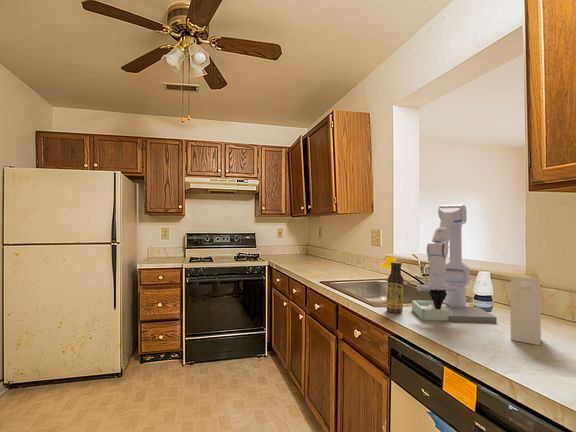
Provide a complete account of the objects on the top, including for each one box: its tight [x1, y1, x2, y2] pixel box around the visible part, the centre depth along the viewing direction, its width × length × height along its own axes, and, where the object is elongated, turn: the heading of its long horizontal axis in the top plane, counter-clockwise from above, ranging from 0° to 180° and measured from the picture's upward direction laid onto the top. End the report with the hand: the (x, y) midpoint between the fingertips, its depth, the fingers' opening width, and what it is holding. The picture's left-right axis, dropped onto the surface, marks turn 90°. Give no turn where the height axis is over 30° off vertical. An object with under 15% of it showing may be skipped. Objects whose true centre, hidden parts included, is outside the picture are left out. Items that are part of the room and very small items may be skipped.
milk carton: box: [509, 275, 542, 346], centre depth 101 cm, size 7×7×19 cm
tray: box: [411, 300, 450, 322], centre depth 127 cm, size 14×9×4 cm, turn 174°
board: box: [441, 305, 497, 324], centre depth 125 cm, size 14×16×2 cm
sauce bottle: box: [386, 261, 404, 314], centre depth 132 cm, size 7×6×20 cm
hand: (437, 310), depth 123 cm, fingers closed
